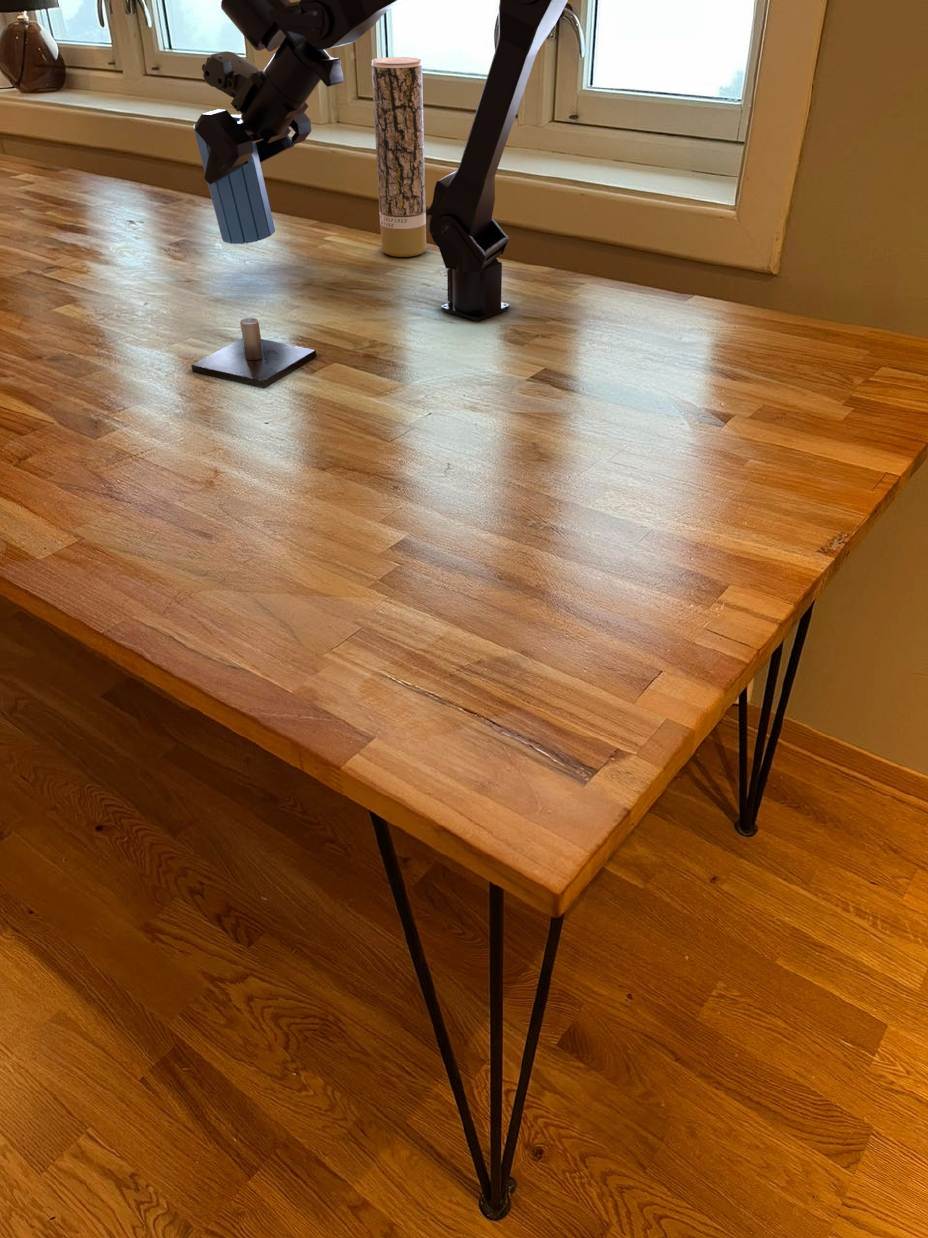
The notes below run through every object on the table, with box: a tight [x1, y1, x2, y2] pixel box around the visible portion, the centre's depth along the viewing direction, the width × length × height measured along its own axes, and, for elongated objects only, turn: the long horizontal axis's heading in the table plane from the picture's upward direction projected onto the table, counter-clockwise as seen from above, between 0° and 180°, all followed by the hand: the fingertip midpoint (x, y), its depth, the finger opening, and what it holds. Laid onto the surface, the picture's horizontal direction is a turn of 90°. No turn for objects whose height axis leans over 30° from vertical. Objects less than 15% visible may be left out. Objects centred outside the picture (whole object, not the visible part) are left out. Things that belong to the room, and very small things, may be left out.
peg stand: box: [190, 317, 317, 389], centre depth 105 cm, size 10×10×5 cm
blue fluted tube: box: [192, 114, 276, 245], centre depth 123 cm, size 7×7×14 cm
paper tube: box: [371, 56, 427, 258], centre depth 133 cm, size 7×7×25 cm
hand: (224, 174), depth 123 cm, fingers closed on blue fluted tube, 7 cm apart
